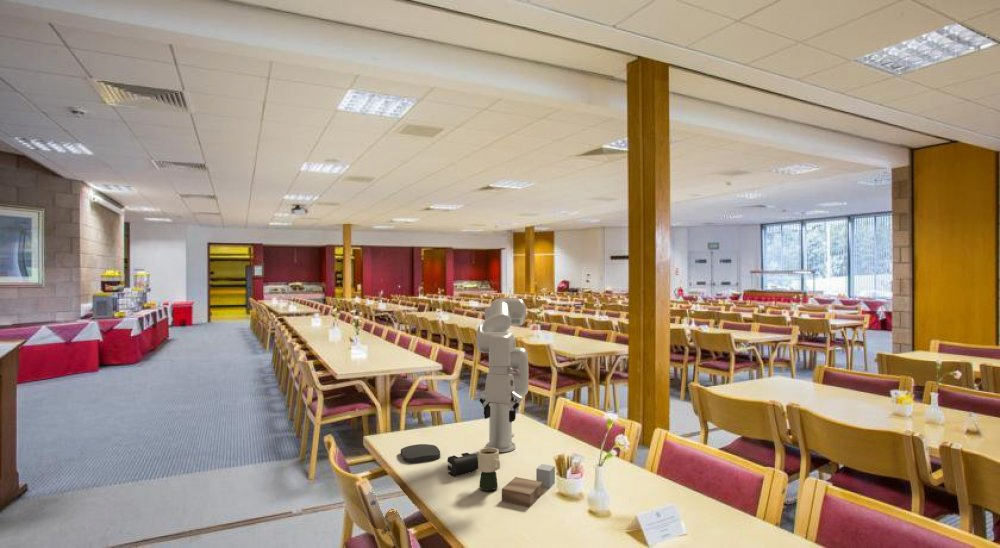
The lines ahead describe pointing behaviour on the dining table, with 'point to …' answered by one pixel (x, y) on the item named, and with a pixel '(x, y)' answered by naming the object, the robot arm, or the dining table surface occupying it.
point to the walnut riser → (522, 491)
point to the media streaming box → (420, 453)
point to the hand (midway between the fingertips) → (499, 419)
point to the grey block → (546, 475)
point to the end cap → (462, 464)
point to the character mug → (488, 467)
